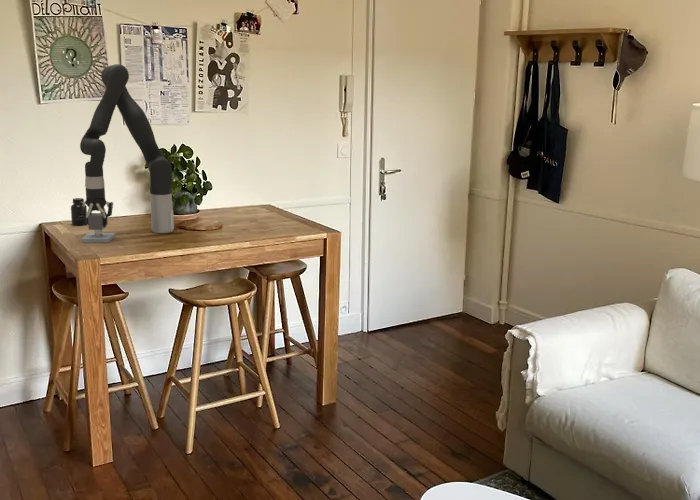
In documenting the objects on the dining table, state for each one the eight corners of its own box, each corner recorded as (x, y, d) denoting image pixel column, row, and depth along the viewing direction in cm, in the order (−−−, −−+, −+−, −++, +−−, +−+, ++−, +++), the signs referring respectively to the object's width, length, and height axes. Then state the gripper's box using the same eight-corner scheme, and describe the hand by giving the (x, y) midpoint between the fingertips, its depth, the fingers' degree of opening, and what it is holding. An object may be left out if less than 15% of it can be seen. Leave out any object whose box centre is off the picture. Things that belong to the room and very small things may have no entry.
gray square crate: (106, 227, 302) (105, 213, 300) (102, 229, 296) (101, 215, 295) (92, 226, 301) (91, 212, 300) (88, 229, 296) (87, 215, 294)
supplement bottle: (82, 226, 322) (80, 200, 319) (68, 225, 324) (66, 199, 321) (90, 223, 329) (88, 198, 326) (77, 222, 330) (75, 197, 327)
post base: (115, 236, 306) (114, 217, 303) (108, 242, 295) (107, 222, 293) (89, 236, 305) (88, 216, 303) (81, 242, 294) (80, 222, 292)
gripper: (115, 185, 298) (117, 224, 303) (80, 184, 298) (82, 223, 302) (110, 188, 291) (112, 228, 295) (74, 187, 290) (77, 227, 295)
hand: (97, 226), depth 299 cm, fingers closed on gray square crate, 5 cm apart
